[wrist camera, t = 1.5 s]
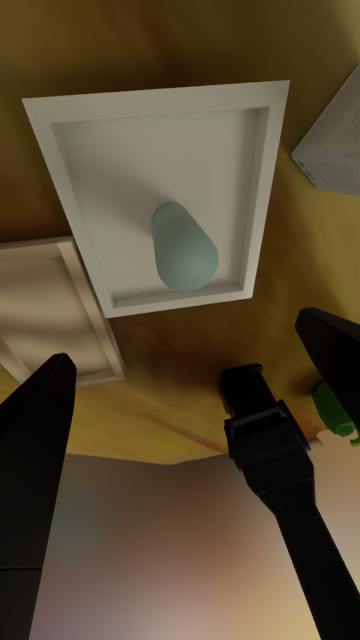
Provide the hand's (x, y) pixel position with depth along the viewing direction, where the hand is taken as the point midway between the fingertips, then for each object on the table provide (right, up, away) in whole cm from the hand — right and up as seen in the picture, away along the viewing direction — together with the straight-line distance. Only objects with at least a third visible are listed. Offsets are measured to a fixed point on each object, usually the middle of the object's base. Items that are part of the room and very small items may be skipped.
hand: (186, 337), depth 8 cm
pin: (-1, +9, +9) cm, 13 cm away
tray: (-14, 0, +15) cm, 20 cm away
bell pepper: (+28, -12, +32) cm, 44 cm away
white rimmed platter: (-1, +9, +10) cm, 13 cm away
